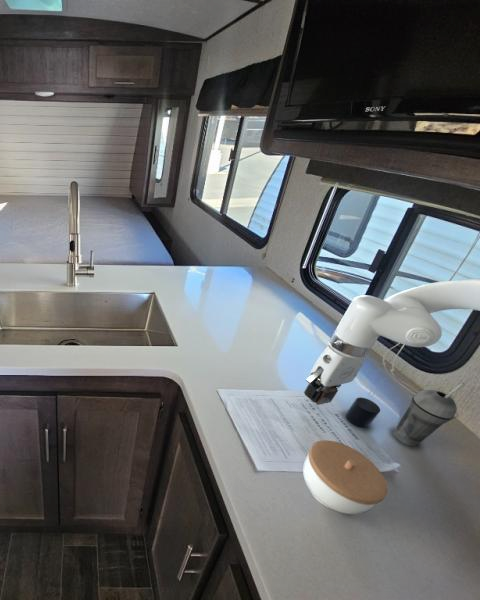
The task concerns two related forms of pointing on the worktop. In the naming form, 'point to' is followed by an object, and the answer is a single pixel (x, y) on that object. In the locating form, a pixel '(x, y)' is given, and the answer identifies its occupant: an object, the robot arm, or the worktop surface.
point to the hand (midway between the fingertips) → (317, 396)
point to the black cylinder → (362, 412)
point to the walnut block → (325, 394)
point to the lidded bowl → (343, 478)
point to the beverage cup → (425, 415)
